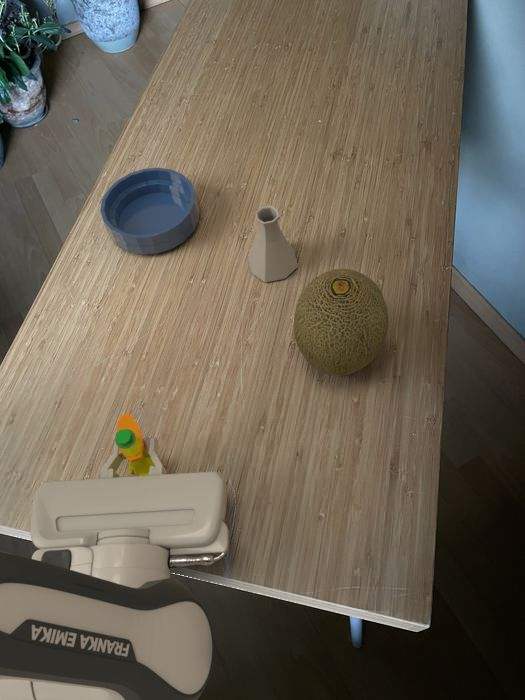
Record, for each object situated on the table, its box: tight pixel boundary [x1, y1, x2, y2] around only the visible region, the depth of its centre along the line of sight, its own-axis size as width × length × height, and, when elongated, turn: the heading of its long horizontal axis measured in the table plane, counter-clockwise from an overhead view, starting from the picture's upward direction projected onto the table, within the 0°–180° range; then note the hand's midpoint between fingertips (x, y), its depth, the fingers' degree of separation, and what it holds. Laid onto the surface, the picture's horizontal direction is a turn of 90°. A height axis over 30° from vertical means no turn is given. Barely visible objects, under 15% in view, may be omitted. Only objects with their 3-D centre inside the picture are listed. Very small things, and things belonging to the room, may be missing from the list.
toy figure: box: [114, 413, 160, 476], centre depth 66 cm, size 7×4×12 cm, turn 19°
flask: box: [247, 204, 299, 283], centre depth 81 cm, size 7×7×10 cm
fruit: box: [293, 268, 390, 377], centre depth 70 cm, size 11×11×15 cm
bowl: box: [99, 167, 200, 255], centre depth 90 cm, size 14×14×4 cm
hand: (136, 440), depth 66 cm, fingers closed on toy figure, 2 cm apart
